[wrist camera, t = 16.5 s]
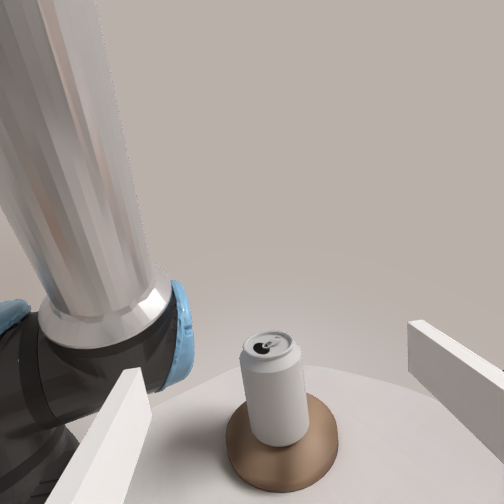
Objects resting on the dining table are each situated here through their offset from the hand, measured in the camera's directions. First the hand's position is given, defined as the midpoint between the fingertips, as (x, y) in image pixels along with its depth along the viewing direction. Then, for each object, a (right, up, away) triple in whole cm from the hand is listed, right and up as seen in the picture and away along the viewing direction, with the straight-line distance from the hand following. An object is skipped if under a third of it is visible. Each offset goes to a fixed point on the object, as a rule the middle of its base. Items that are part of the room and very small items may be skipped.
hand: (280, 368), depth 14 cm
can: (+2, -17, +22) cm, 28 cm away
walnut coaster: (+2, -18, +23) cm, 29 cm away
